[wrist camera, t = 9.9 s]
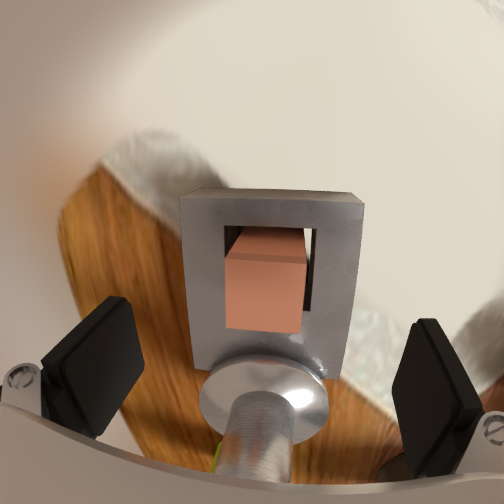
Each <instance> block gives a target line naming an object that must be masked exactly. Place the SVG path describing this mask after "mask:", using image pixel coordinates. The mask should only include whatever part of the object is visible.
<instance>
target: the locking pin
mask: <svg viewBox="0 0 504 504" xmlns="http://www.w3.org/2000/svg"><path fill="white" fill-rule="evenodd" d="M306 268H307V260H306V249H305V238H304V228H290V227H263V226H245V228H244V229H243V231H242V232H241V234H240V235H239V237H238V239H237V240H236V242H235V243H234V245H233V247H232V248H231V250H230V251H229V253H228V255H227V256H226V258H225V305H226V328H233V329H243V330H254V331H266V332H280V333H294V334H300V328H301V319H302V310H303V300H304V290H305V279H306Z"/></svg>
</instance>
